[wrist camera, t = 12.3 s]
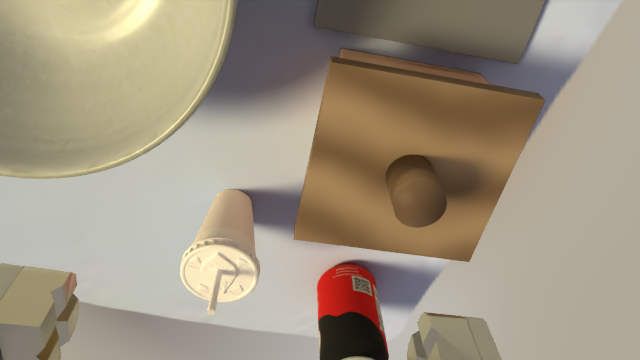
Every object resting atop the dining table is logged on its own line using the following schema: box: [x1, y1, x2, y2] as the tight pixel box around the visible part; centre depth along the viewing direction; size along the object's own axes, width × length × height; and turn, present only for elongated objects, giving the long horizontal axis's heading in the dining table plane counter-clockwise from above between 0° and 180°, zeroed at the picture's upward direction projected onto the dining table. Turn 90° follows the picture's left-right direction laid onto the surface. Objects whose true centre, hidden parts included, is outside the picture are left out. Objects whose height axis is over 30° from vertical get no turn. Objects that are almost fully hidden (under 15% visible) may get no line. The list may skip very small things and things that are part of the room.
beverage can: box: [317, 264, 389, 360], centre depth 49 cm, size 6×6×12 cm
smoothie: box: [180, 189, 260, 315], centre depth 42 cm, size 6×6×14 cm
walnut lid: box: [294, 56, 545, 262], centre depth 36 cm, size 15×15×5 cm
